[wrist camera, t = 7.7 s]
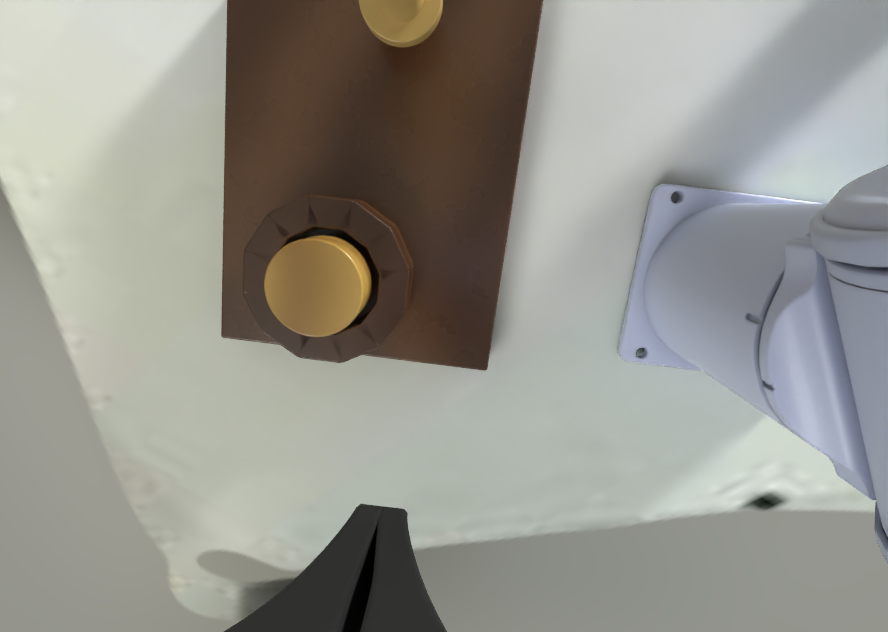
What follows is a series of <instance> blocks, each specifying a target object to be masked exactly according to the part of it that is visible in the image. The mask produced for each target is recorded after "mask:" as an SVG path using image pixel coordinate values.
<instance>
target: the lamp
mask: <svg viewBox="0 0 888 632" xmlns="http://www.w3.org/2000/svg"><path fill="white" fill-rule="evenodd" d="M359 5H360V10H361V13H362V15H363V17H364V20H365V22H366V24H367V26H368V27H369V29H370V30H371V31H372V33H373V34H374V35H375V36H376V37H377V38H378V39H380V40H381V41H382V42H384V43H386V44H388V45H391V46H395V47H410V46H414V45H417V44H419V43H421V42H423V41H424V40H425V39H427V38H428V37H429V36H430V35H431V34H432V32H433V31H434V30H435V28H436V27H437V25H438V23H439V20H440V18H441V14H442V9H443V0H359Z"/></svg>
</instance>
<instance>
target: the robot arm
mask: <svg viewBox="0 0 888 632" xmlns="http://www.w3.org/2000/svg"><path fill="white" fill-rule="evenodd" d="M675 191H676V192H678V194H679V200H678V201H677V202H676V203H673V202H672V200H671V195H672V193H674V192H675ZM639 348H644V352H643V354H642V355H640V356H636V351H637V349H639ZM618 354H619V356H620V357H621V358H622V359H623V360H625V361H628V362H635V363H643V364H651V365H659V366H667V367H675V368H683V369H691V370H699V371H703V372H705V373H706V374H708V375H709V376H711V377H712V378H713V379H715V380H716V381H718V382H719V383H721V384H722V385H724V386H725V387H727V388H728V389H730V390H731V391H732V392H734V393H735V394H737V395H738V396H740V397H741V398H743V399H744V400H746V401H747V402H749V403H750V404H751V405H753V406H754V407H756V408H757V409H759V410H760V411H762V412H763V413H765V414H766V415H768V416H769V417H770V418H772V419H773V420H775V421H776V422H778V423H779V424H781V425H782V426H784V427H785V428H787V429H788V430H789V431H791V432H792V433H794V434H795V435H797V436H798V437H800V438H801V439H802V440H804V441H805V442H807V443H808V444H810V445H811V446H813V447H814V448H816V449H817V450H819V451H820V452H822V453H823V454H825V455H826V456H828V457H829V459H830V460H831V461H832V463H833V465H834V467H835V470H836V473H837V475H838V476H839V477H841V478H842V479H843V480H845V481H846V482H848V483H849V484H850V485H852V486H853V487H855V488H856V489H857V490H859V491H860V492H862V493H863V494H864V495H866V496H867V497H869V498H870V499H871V500H876V505H875V533H876V538H877V542H878V544H879V547H880V549H881V552H882V554H883V557H884V558H885V560H886V561H887V563H888V165H887V166H885V167H882V168H880V169H877V170H875V171H872V172H870V173H868V174H866V175H863V176H861V177H859V178H857V179H855V180H854V181H852V182H850V183H848V184H847V185H846V186H844V187H843V188H842V189H841V190H839V192H838V193H837V194H836V195H835V196H834V197H833V199H832V200H831V201H830V202H829V203H828V204H823V203H815V202H807V201H800V200H792V199H784V198H776V197H768V196H760V195H753V194H745V193H737V192H729V191H721V190H713V189H705V188H698V187H690V186H682V185H674V184H660V185H658V186H656V187H655V188H654V189H653V190H652V193H651V196H650V200H649V205H648V210H647V214H646V219H645V224H644V228H643V233H642V237H641V242H640V247H639V251H638V256H637V261H636V265H635V270H634V275H633V279H632V284H631V288H630V293H629V298H628V302H627V307H626V312H625V316H624V321H623V325H622V330H621V335H620V339H619V344H618ZM407 514H408V513H407V512H406V511H405V510H404V509H399V508H390V507H382V506H373V505H365V504H360V505H359V506H358V507H356V509H355V511H354V512H353V514H352V515H351V517H350V518H349V520H348V521H347V522H346V524H345V525H344V526H343V527H342V529H341V530H340V531H339V533H338V534H337V535H336V536H335V537H334V538H333V540H332V541H331V542H330V543H329V544H328V546H327V547H326V548H325V549H324V550H323V551H322V552H321V553H320V554H319V555H318V556H317V558H316V559H315V560H314V561H313V562H312V563H311V564H310V565H309V566H308V567H307V568H306V569H305V570H304V571H303V572H302V573H301V574H300V575H299V576H297V577H296V578H295V579H294V580H293V581H292V582H291V583H290V584H289V585H287V586H286V587H285V588H284V589H283V590H282V591H280V592H279V593H278V594H277V595H276V596H274V597H273V598H272V599H270V600H269V601H268V602H267V603H265V604H264V605H263V606H261V607H260V608H259V609H257V610H256V611H255V612H253V613H252V614H250V615H249V616H248V617H246V618H245V619H243V620H242V621H240V622H238V623H237V624H235V625H234V626H232V627H230V628H229V629H227V630H226V631H224V632H447V631H446V629H445V627H444V625H443V624H442V622H441V620H440V618H439V616H438V614H437V612H436V610H435V608H434V606H433V604H432V602H431V600H430V597H429V595H428V593H427V590H426V588H425V586H424V583H423V580H422V578H421V575H420V572H419V569H418V566H417V563H416V560H415V556H414V553H413V549H412V545H411V541H410V536H409V531H408V523H407Z"/></svg>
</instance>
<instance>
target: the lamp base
mask: <svg viewBox="0 0 888 632" xmlns="http://www.w3.org/2000/svg"><path fill="white" fill-rule="evenodd" d="M542 5H543V0H443V9H442V14H441V18H440V20H439V23H438V25H437V27H436V28H435V30H434V31H433V32H432V34H431V35H430V36H429V37H428V38H427V39H425V40H424V41H423V42H421V43H419V44H417V45H414V46H410V47H395V46H391V45H388V44H386V43H384V42H382V41H381V40H380V39H378V38H377V37H376V36H375V35H374V34H373V33H372V31H371V30H370V29H369V27H368V26H367V24H366V22H365V20H364V17H363V15H362V13H361V10H360V5H359V0H227V48H226V105H225V163H224V220H223V277H222V335H221V336H222V337H223V338H231V339H239V340H247V341H255V342H263V343H271V344H278V345H281V346H283V347H284V348H286V349H287V350H289V351H290V352H292V353H293V354H294V355H296V356H297V357H299V358H305V359H313V360H321V361H329V362H337V363H341V362H345V361H348V360H350V359H353V358H355V357H358V356H360V355H366V356H374V357H382V358H390V359H398V360H406V361H414V362H422V363H430V364H438V365H446V366H454V367H462V368H470V369H477V370H487V367H488V360H489V353H490V347H491V340H492V334H493V327H494V321H495V314H496V307H497V301H498V294H499V288H500V281H501V275H502V268H503V261H504V255H505V248H506V242H507V235H508V229H509V222H510V215H511V209H512V202H513V196H514V189H515V183H516V176H517V169H518V163H519V156H520V150H521V143H522V137H523V130H524V123H525V117H526V110H527V104H528V97H529V91H530V84H531V77H532V71H533V64H534V58H535V51H536V45H537V38H538V31H539V25H540V18H541V12H542ZM318 235H330V236H336V237H339V238H342V239H344V240H346V241H348V242H349V243H351V244H352V245H354V246H355V247H356V248H357V249H358V250H359V251H360V252H361V253H362V255H363V256H364V257H365V259H366V261H367V263H368V265H369V268H370V271H371V275H372V290H371V295H370V298H369V300H368V302H367V304H366V306H365V307H364V309H363V310H362V311H361V312H360V313H359V315H358V316H357V317H356V318H355V319H354V320H353V321H352V323H351V324H349V325H348V326H347V327H346V328H345V329H343V330H342V331H340V332H338V333H336V334H333V335H330V336H325V337H310V336H305V335H301V334H298V333H296V332H294V331H292V330H290V329H289V328H287V327H286V326H285V325H283V324H282V323H281V322H280V321H279V320H278V319H277V318H276V316H275V315H274V314H273V312H272V311H271V309H270V307H269V305H268V302H267V299H266V296H265V290H264V280H265V274H266V270H267V267H268V265H269V263H270V261H271V259H272V258H273V257H274V255H275V254H276V253H277V252H278V251H279V250H280V249H281V248H283V247H284V246H285V245H287V244H289V243H291V242H294V241H296V240H300V239H305V238H309V237H313V236H318Z"/></svg>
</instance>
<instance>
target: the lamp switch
mask: <svg viewBox="0 0 888 632" xmlns="http://www.w3.org/2000/svg"><path fill="white" fill-rule="evenodd" d="M264 290H265V296H266V299H267V302H268V305H269V307H270V309H271V311H272V312H273V314H274V315H275V316H276V318H277V319H278V320H279V321H280V322H281V323H282V324H283V325H285V326H286V327H287V328H289V329H290V330H292V331H294V332H296V333H298V334H301V335H305V336H310V337H325V336H330V335H333V334H336V333H338V332H340V331H342V330H343V329H345V328H346V327H347V326H348V325H349V324H351V323H352V321H353V320H354V319H355V318H356V317H357V316H358V315H359V313H360V312H361V311H362V310H363V309H364V307H365V306H366V304H367V302H368V300H369V298H370V295H371V290H372V275H371V271H370V268H369V265H368V263H367V261H366V259H365V257H364V256H363V255H362V253H361V252H360V251H359V250H358V249H357V248H356V247H355V246H354V245H352V244H351V243H349V242H348V241H346V240H344V239H342V238H339V237H336V236H330V235H318V236H313V237H309V238H305V239H300V240H296V241H294V242H291V243H289V244H287V245H285V246H284V247H283V248H281V249H280V250H279V251H278V252H277V253H276V254H275V255H274V257H273V258H272V259H271V261H270V263H269V265H268V267H267V270H266V274H265V280H264Z"/></svg>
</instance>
